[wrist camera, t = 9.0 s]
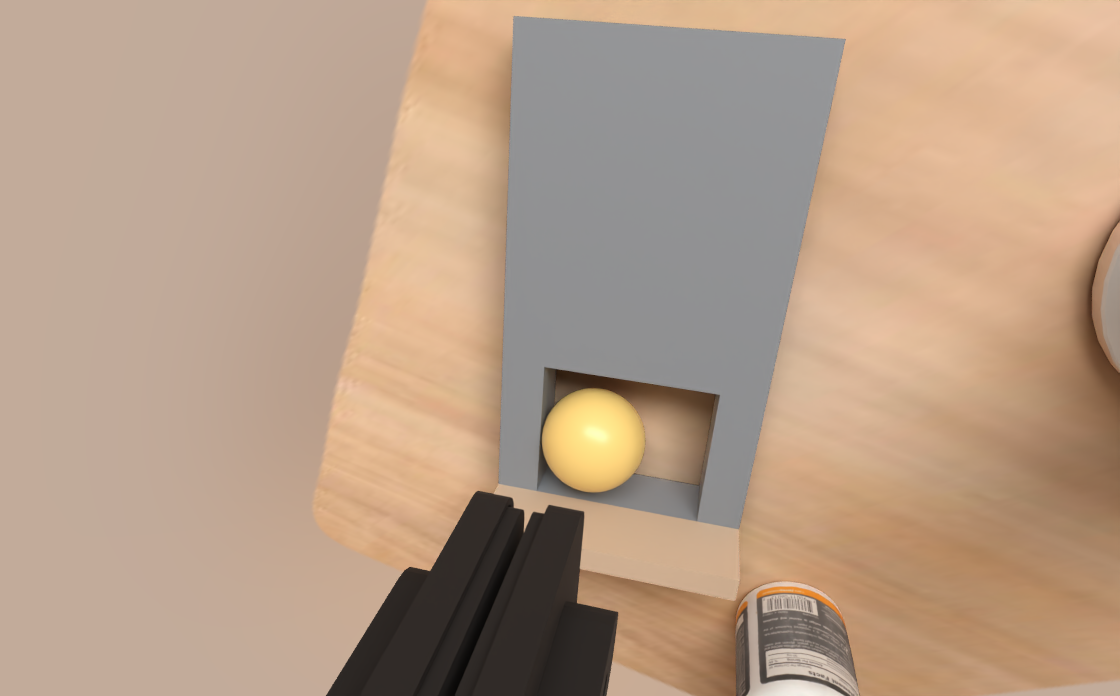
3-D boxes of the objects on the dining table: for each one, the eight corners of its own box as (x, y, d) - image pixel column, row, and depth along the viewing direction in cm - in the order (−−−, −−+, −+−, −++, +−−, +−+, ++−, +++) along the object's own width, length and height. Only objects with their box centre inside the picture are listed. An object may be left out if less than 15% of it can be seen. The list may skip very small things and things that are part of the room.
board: (834, 38, 27) (862, 39, 21) (730, 530, 37) (730, 622, 31) (533, 17, 29) (484, 13, 23) (513, 489, 39) (475, 568, 33)
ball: (634, 472, 37) (646, 381, 35) (642, 516, 32) (657, 412, 31) (539, 462, 37) (549, 371, 35) (533, 504, 32) (544, 400, 31)
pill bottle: (798, 670, 40) (817, 851, 31) (714, 618, 40) (710, 785, 31) (866, 613, 37) (909, 793, 28) (777, 557, 37) (792, 721, 28)
